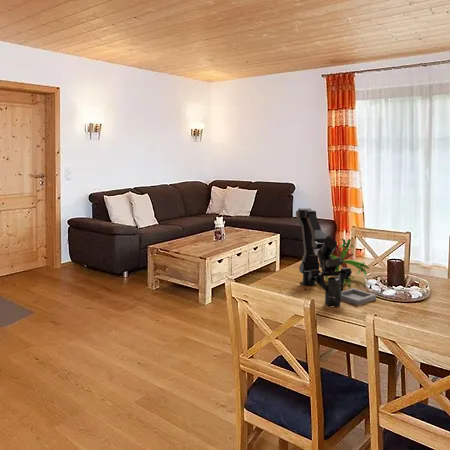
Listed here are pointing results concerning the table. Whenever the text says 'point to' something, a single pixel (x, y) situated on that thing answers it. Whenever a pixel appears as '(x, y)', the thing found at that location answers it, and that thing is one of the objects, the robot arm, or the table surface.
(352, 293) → the tray
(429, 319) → the table surface
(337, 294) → the supplement bottle
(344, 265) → the decorative plant
